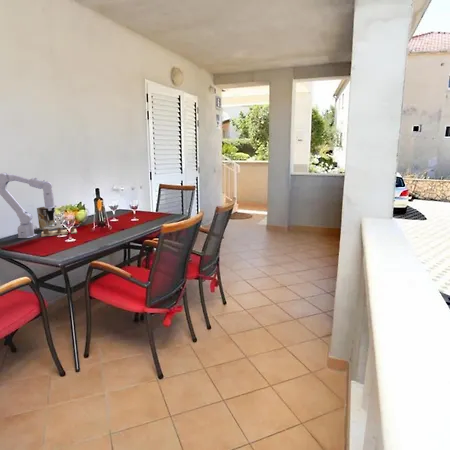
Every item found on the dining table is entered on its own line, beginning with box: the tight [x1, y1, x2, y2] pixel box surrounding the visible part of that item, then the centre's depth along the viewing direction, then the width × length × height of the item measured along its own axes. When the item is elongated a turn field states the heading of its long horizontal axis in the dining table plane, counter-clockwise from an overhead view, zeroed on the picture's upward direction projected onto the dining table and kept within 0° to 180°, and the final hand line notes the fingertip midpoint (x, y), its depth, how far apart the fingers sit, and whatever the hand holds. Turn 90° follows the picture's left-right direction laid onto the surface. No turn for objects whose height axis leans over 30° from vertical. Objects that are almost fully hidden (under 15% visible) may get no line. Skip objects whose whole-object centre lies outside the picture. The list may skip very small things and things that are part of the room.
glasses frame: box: [44, 217, 65, 230], centre depth 236 cm, size 18×4×6 cm, turn 116°
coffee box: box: [36, 206, 56, 231], centre depth 248 cm, size 9×6×16 cm
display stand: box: [40, 225, 78, 237], centre depth 237 cm, size 22×10×4 cm, turn 116°
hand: (51, 219), depth 232 cm, fingers open, 7 cm apart
